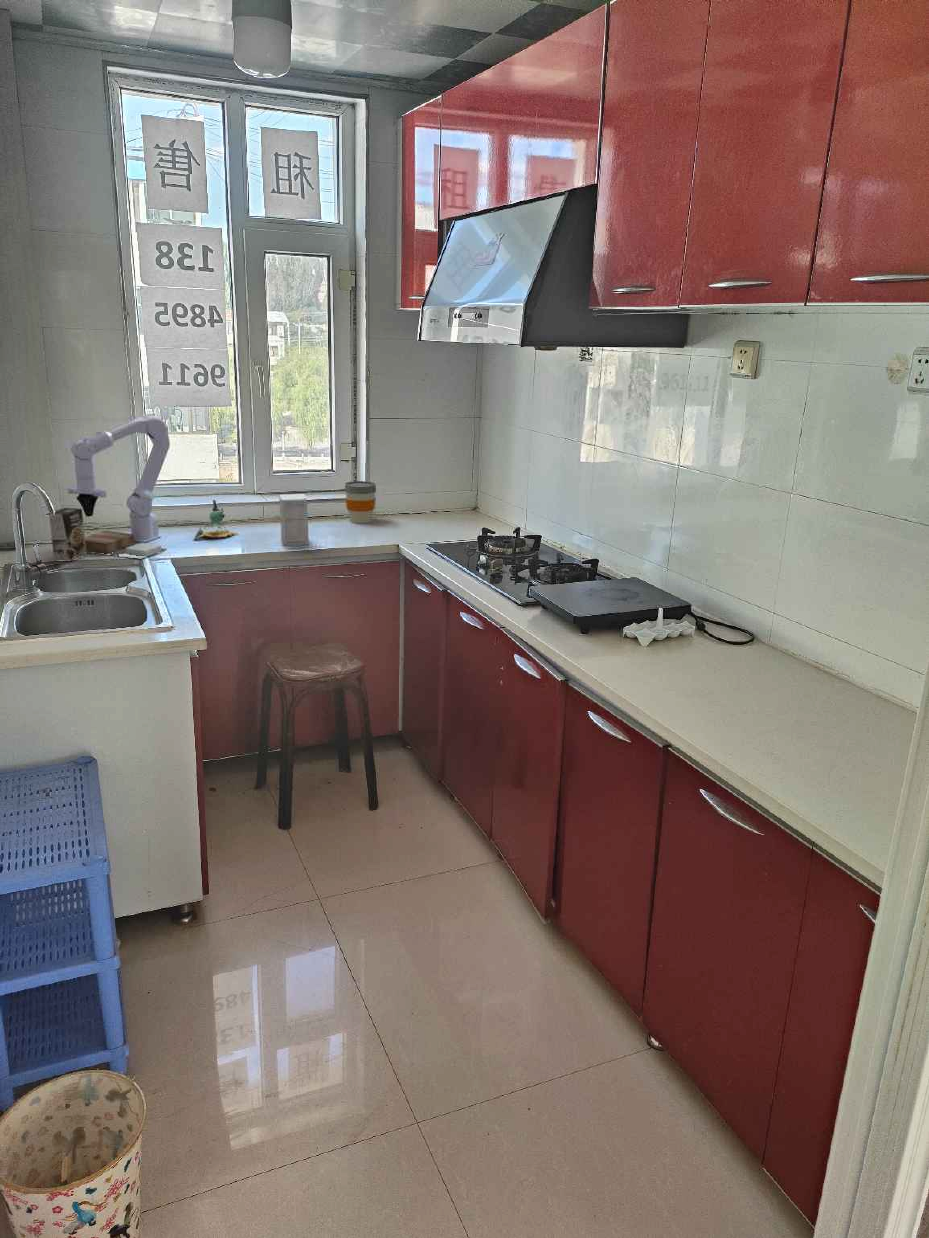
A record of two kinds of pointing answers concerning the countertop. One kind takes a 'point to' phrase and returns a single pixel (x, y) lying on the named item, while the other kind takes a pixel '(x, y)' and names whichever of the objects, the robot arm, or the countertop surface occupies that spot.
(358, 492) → the reusable coffee cup
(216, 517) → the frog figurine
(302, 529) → the supplement box
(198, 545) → the countertop surface
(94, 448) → the robot arm
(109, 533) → the flat brown box
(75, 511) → the coffee box
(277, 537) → the countertop surface
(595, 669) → the countertop surface
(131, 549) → the tile
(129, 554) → the mat
